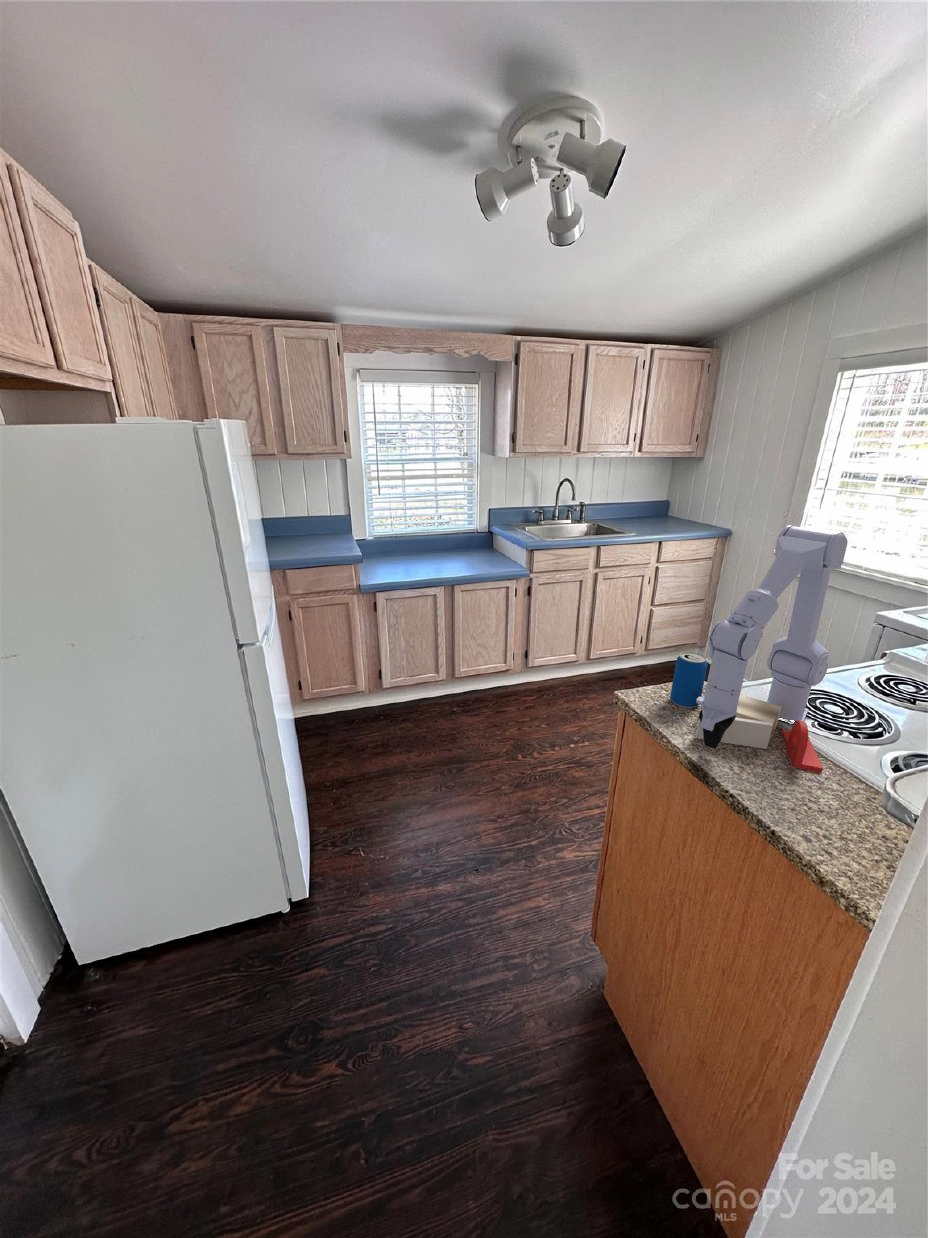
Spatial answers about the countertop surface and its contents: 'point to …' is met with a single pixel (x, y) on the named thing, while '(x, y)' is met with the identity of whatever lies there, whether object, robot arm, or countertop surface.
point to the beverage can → (688, 679)
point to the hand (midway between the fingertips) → (710, 746)
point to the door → (744, 733)
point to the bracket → (801, 747)
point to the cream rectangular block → (758, 711)
